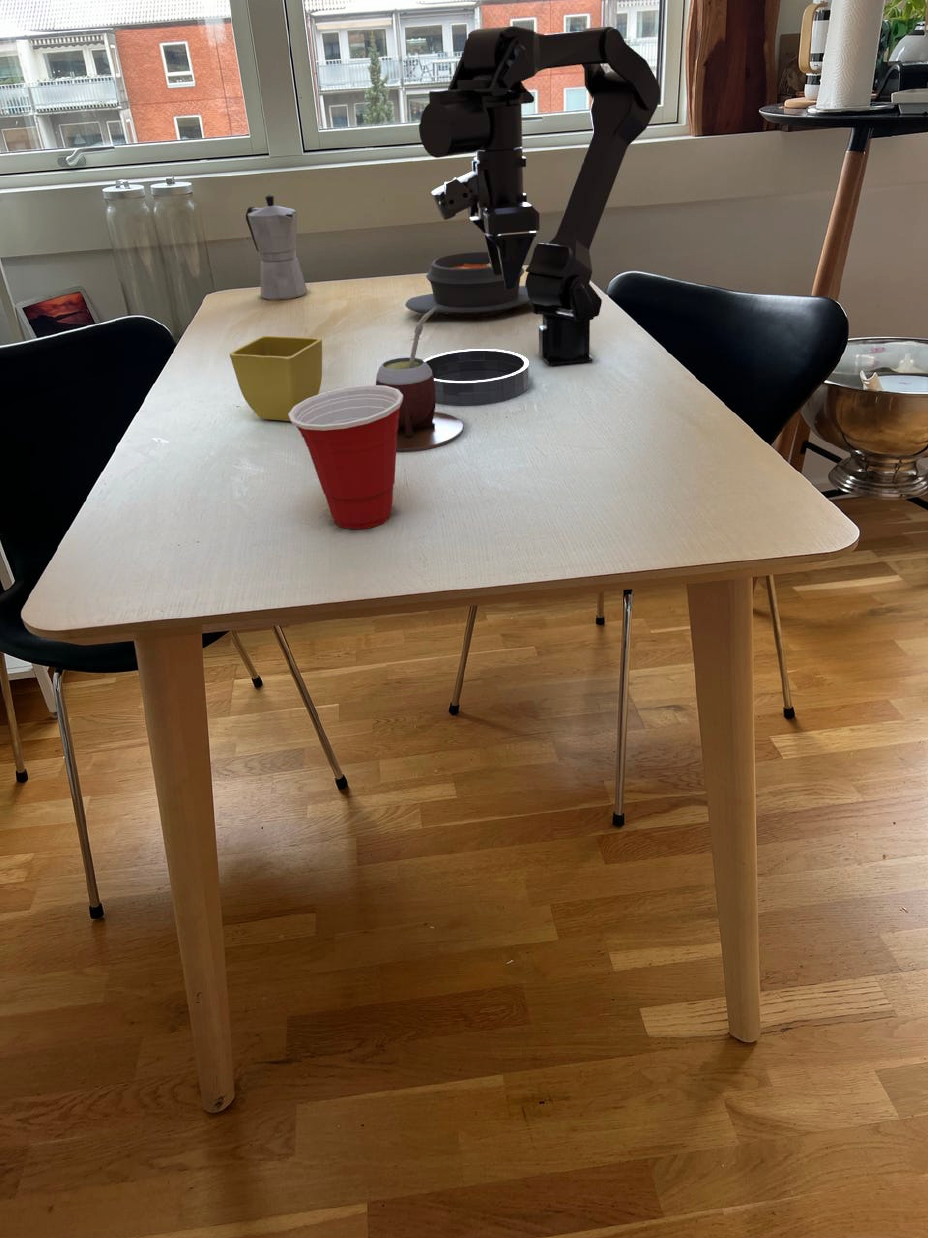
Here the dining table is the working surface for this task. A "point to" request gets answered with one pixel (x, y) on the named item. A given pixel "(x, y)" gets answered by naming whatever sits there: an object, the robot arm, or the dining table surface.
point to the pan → (478, 376)
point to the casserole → (468, 288)
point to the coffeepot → (277, 250)
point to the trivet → (431, 434)
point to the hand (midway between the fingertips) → (503, 281)
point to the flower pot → (278, 373)
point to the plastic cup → (353, 450)
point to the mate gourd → (411, 387)
